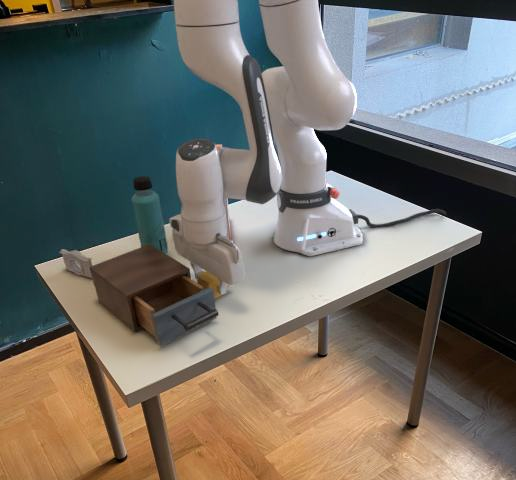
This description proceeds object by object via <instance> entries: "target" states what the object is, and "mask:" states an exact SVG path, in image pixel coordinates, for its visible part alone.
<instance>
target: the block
mask: <svg viewBox="0 0 516 480" xmlns="http://www.w3.org/2000/svg"><path fill="white" fill-rule="evenodd" d="M196 283H198V284H199V285H201V286H203V290H205V289H207V288H209V287H210V288H212V289H214V298H215V299H217V298H219V297H221V296H222V295H221V294H219V293H218V292H217V289H216V286H217V285H219V284H220V282H219V281H218V278H217V277H215V276H213V275H212V274H210V273H208V272H207V271H204V273H201V274H199V275H197V279H196Z"/></svg>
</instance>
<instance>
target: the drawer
mask: <svg viewBox="0 0 516 480" xmlns="http://www.w3.org/2000/svg"><path fill="white" fill-rule="evenodd" d="M131 299H132V304H133V308H134V313H135V317H136V322H137V323H139V324H140V325H141V326H142V327H143V329H145V330H146V331H147V332H148V333H150V334H151V335H152V336H153V337H154V338H155V340H156V343H157V345H158V346H159V347H163V346H164V345H166V344H168V343H171V342H173V341H175V340H176V339H179V338H180V337H182V336H184V335H186V334H188V333H190V332H193V331H195V330H196V329H198V328H200V327H202V326H204V325H207V324H208V323H210V322H212V321H214V320H216V319H217V318H218V316H219V315H220V314H219V311H218V310H217V309H216V308H217V307H216V298H214V289H212V288H210V287H209V288H207V289H205V290H203V286H201V285H199V284H198V283H197V281H195V280H193V279H192V278H191V279H190V278H188V277H187V276H185V275H182V276H180V277H177V278H175V279H173V280H170V281H168V282H166V283H164V284H161V285H159V286H157V287H154V288H152V289H150V290H147V291H145V292H143V293H141V294H138V295H136V296H134V297H131Z"/></svg>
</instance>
